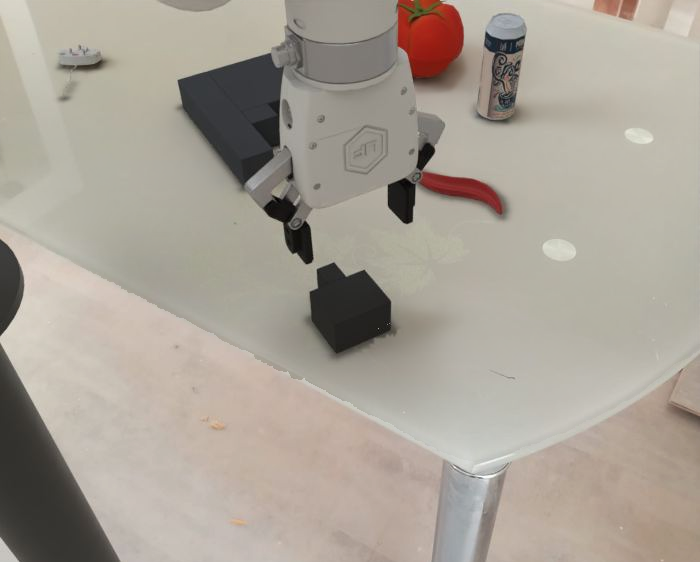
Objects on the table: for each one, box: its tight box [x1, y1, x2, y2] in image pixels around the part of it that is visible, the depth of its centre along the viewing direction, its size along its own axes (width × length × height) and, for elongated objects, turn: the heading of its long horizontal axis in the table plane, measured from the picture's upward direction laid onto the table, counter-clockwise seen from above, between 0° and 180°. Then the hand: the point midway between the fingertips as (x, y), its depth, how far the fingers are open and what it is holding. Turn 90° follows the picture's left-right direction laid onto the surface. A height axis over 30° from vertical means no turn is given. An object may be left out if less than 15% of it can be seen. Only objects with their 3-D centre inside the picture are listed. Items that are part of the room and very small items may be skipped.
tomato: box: [398, 0, 465, 79], centre depth 103 cm, size 14×13×9 cm
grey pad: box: [177, 52, 284, 187], centre depth 96 cm, size 18×20×4 cm
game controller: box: [57, 44, 103, 98], centre depth 106 cm, size 6×12×3 cm, turn 16°
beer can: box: [476, 12, 528, 121], centre depth 94 cm, size 5×5×12 cm
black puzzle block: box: [309, 261, 392, 355], centre depth 74 cm, size 6×7×4 cm
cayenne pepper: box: [418, 171, 503, 215], centre depth 88 cm, size 12×5×2 cm, turn 43°
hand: (352, 234), depth 66 cm, fingers open, 9 cm apart
